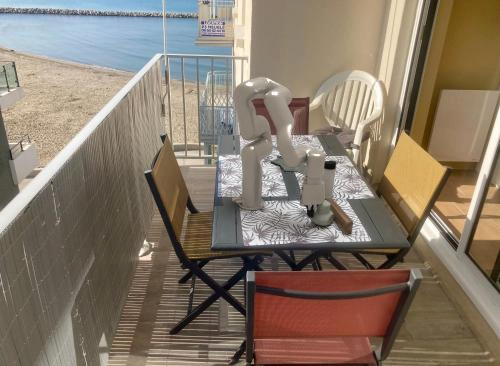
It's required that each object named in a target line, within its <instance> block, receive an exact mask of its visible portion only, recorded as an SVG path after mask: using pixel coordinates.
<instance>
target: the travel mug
mask: <svg viewBox="0 0 500 366" xmlns="http://www.w3.org/2000/svg"><path fill="white" fill-rule="evenodd" d="M336 171H337V161H335V160H325V163H324V172H323V182H324V185H325V200H326V199H331V198H333V195H334V194H333V193H334V192H333V191H334V188H335V187H334V186H335V185H334V184H335V178H336Z"/></svg>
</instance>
